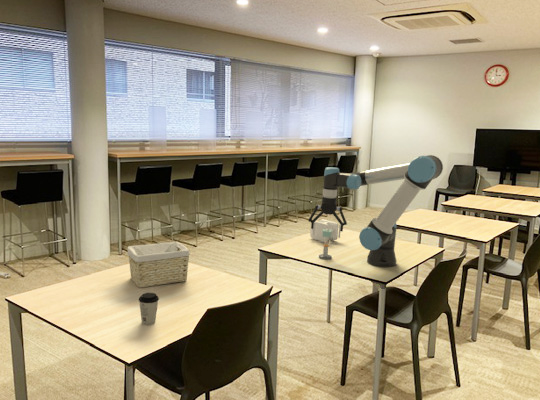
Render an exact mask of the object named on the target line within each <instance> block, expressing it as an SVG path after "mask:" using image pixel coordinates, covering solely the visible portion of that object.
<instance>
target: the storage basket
mask: <svg viewBox="0 0 540 400" xmlns="http://www.w3.org/2000/svg"><path fill="white" fill-rule="evenodd" d="M127 256H128V260H129V261H128V263H129V271H130V279H131V280H132V281H133V283H135V285H136V286H137V287H138V288H147V287H148V288H149V287H153V286H155V287H156V286H160V285H169V284H173V283H179V282H180V283H181V282H185V281H187V280H188V269H189V260H190V249H189V248H188V247H186V246H185V245H184V244H182V243H180V242H179V241H171V242H161V243H160V242H159V243H153V244H152V243H151V244H138V245H129V246H127Z"/></svg>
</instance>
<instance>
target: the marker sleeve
mask: <svg viewBox="0 0 540 400" xmlns="http://www.w3.org/2000/svg"><path fill="white" fill-rule="evenodd" d="M323 237H331V230H329V231H326V229H323Z"/></svg>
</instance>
